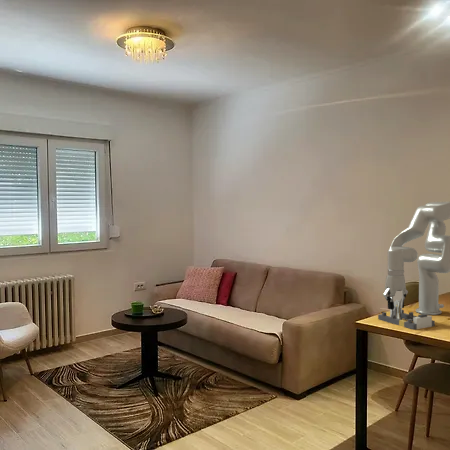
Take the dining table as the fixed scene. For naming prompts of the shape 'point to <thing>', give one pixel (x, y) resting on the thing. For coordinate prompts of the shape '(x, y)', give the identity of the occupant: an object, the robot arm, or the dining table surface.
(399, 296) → the beer glass
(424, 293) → the robot arm
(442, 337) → the dining table surface
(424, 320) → the cable comb
